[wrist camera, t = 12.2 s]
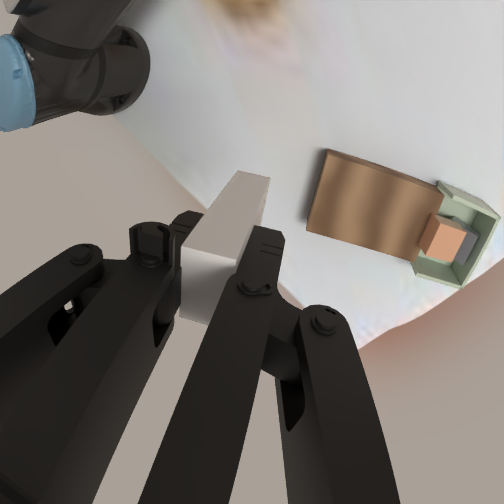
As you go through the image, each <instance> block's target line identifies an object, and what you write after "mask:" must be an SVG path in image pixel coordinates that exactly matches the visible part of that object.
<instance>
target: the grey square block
mask: <svg viewBox="0 0 504 504" xmlns="http://www.w3.org/2000/svg"><path fill="white" fill-rule="evenodd" d="M450 220H453V221H455V222H458V223H459V224H460V226H461V227H462V228H463V229H464V230H465V231H466V232H467V233H466V235H465V237H464V239H463V241H462V243H461V245H460V247H459V249H458V251H457V253H456V255H455V257H454V260H455V261H457V262H458V263H459V264H461V265H462V266H463V264H464V263H465V262H466V261H467V259H468V257H469V255H470V253H471V251H472V249H473V248H474V246H475V244H476V242H477V240H478V238H479V236H480V234H481V233H479V232H478V231H476V230H475V229H473V228H472V227H470V226H469V225H468V224H466V223H465V222H463V221H461V220H460V219H458V218H457V217H453V218H451V219H450Z"/></svg>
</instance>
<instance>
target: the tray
mask: <svg viewBox="0 0 504 504" xmlns="http://www.w3.org/2000/svg"><path fill="white" fill-rule="evenodd" d="M436 187H437V188H438V189H439V190H440V191H441V192H442V193H443V194H444V195H445V196H444V199H443V201H442V204H441V206H440V209H439V211H438V213H437V215H439V216H441V217H444V218H447V219H451V218H453V217H457V218H458V219H460V220H461V221H463V222H465V223H466V224H468V225H469V226H470V227H472V228H473V229H475V230H476V231H478V232H479V233H481V234H480V236H479V238H478V240H477V242H476V244H475V246H474V248H473V249H472V251H471V253H470V255H469V257H468V259H467V261H466V262H465V263H464V264H463V266H462V265H461V264H459V263H458V262H457V261H455V260H454V259H453V261H452V263H451V262H447V261H444V260H440V259H436V258H433V257H429V256H425V254H424V253H423V251H422V249H421V250H420V252H419V254H418V256H417V258H416V260H415V262H411V261H410V263H411V265H412V268H413V270H414V273H415V275H416V276H418V277H421V278H424V279H428V280H431V281H434V282H438V283H441V284H444V285H447V286H451V287H454V288H457V289H461V290H462V289H463V288H464V286H465V284H466V283H467V281H468V279H469V278H470V276H471V274H472V273H473V271H474V269H475V267H476V266H477V264H478V262H479V260H480V258H481V256H482V255H483V253H484V251H485V249H486V247H487V245H488V243H489V241H490V239H491V237H492V235H493V233H494V231H495V229H496V227H497V225H498V223H499V220H500V218H501V217H500V216H499V215H498V214H497V213H496V212H495V211H494V210H493V209H492V208H491V207H490V206H489V205H487V204H486V203H485V202H484V201H483V200H481V199H478V198H476V197H474V196H472V195H470V194H468V193H466V192H464V191H462V190H459V189H457V188H455V187H453V186H450V185H448V184H446V183H444V182H441V181H438V184H437V186H436Z"/></svg>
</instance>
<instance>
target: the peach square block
mask: <svg viewBox="0 0 504 504" xmlns="http://www.w3.org/2000/svg"><path fill="white" fill-rule="evenodd" d="M466 233H467V232H466V231H465V230H464V229H463V228H462V227H461V226H460V224H459V223H458V222H455V221H453V220H450V219H447V218H444V217H441V216H439V215H436V214H433V213H432V214H431V216H430V219H429V221H428V223H427V225H426V228H425V230H424V232H423V234H422V236H421V239H420V241H419V243H418V245H419V246H420V248H421V249H422V251H423V253H424V254H425V256H429V257H433V258H436V259H440V260H444V261H447V262H451V263H452V261H453V259H454V257H455V255H456V253H457V251H458V249H459V247H460V245H461V243H462V241H463V239H464V237H465V235H466Z"/></svg>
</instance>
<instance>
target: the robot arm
mask: <svg viewBox="0 0 504 504" xmlns="http://www.w3.org/2000/svg"><path fill="white" fill-rule="evenodd" d="M3 2H4V4H5V8H6V11H7V12H8V13H11V14H17V15H20V16H19V18H18V20H17V22H16V25H15V26H14V28H13V30H12V32H11V34H10V35H9V34H4V35H2V36H0V131H3V132H9V131H13V130H16V129H20V128H28V127H30V126H32V125H35V124H38V123H41V122H44V121H47V120H50V119H53V118H56V117H59V116H63V115H66V114H69V113H73V112H76V111H80V112H84V113H89V114H93V115H100V116H102V115H110V114H114V113H117V112H120V111H123V110H124V109H126V108H128V107H129V106H130V105H132V104H133V103H134V102H135V101H136V100H137V98H138V97H139V96H140V94H141V93H142V91H143V89H144V87H145V85H146V82H147V79H148V76H149V71H150V55H149V50H148V47H147V45H146V43H145V41H144V39H143V38H142V37H141V36H140V35H139V34H138V33H137V32H135V31H134V30H132V29H129V28H126V27H120V26H116V25H117V24H118V22H119V21H120V20H121V19H122V17H123V16H124V15H125V14H126V12H127V11H128V10H129V9H130V8H131V6H132V5H133V4H134V3H135V2H136V0H3ZM269 182H270V177H265V176H261V175H256V174H252V173H247V172H243V171H237V172H236V173H235V175H234V176H233V177H232V178H231V180H230V181H229V182H228V184H227V185H226V186H225V187H224V189H223V190H222V191H221V193H220V194H219V195H218V197H217V198H216V199H215V201H214V202H213V203H212V205H211V206H210V207H209V209H208V210H207V211H206V213H205V214H202V213H198V212H193V211H189V210H188V211H186V212H184V213H182V214H179V215H178V216H177V217H176V218H175V219H174V220H173V221H172V224H170V225H169V226H168V225H166V224H163V223H160V222H143V223H139V224H136V225H134V226H132V227H131V228H129V237H130V252H131V254H130V255H129V257H127V259H126V260H113V259H103V254H102V250H101V249H100V248H99V247H98V246H96V245H93V244H78V245H75V246H72V247H70V248H68V249H67V250H65V251H63V252H62V253H60V254H59V255H57V256H56V257H54V258H53V259H51V260H50V261H48V262H46V263H45V264H44V265H42V266H40V267H39V268H38V269H36V270H35V271H33V272H32V273H30V274H29V275H27V276H26V277H24V278H23V279H22V280H20V281H19V282H17V283H16V284H15V285H13V286H12V287H10V288H9V289H8V290H6V291H5V292H4V293H2V294H1V295H0V504H92V503H93V500H94V498H95V496H96V493H97V491H98V488H99V486H100V484H101V481H102V479H103V477H104V475H105V472H106V470H107V468H108V465H109V463H110V461H111V458H112V456H113V454H114V452H115V450H116V447H117V445H118V443H119V441H120V438H121V436H122V434H123V432H124V430H125V427H126V425H127V423H128V421H129V419H130V417H131V415H132V412H133V410H134V408H135V406H136V404H137V402H138V400H139V398H140V395H141V393H142V391H143V389H144V387H145V385H146V383H147V381H148V379H149V377H150V375H151V373H152V371H153V369H154V366H155V364H156V362H157V360H158V358H159V356H160V354H161V352H162V350H163V348H164V346H165V344H166V342H167V340H168V338H169V336H170V334H171V332H172V330H173V327H174V315H175V313H176V311H177V309H178V308H179V306H180V311H179V314H180V315H179V316H180V317H182V318H185V319H188V320H192V321H195V322H199V323H202V324H206V325H209V326H208V328H207V331H206V333H205V335H204V338H203V340H202V343H201V345H200V348H199V350H198V353H197V355H196V358H195V360H194V363H193V365H192V367H191V370H190V372H189V375H188V378H187V380H186V382H185V385H184V387H183V390H182V392H181V395H180V398H179V400H178V403H177V405H176V407H175V410H174V412H173V415H172V417H171V420H170V422H169V425H168V427H167V430H166V432H165V435H164V438H163V440H162V443H161V445H160V448H159V450H158V453H157V455H156V458H155V460H154V463H153V465H152V468H151V471H150V473H149V476H148V478H147V481H146V484H145V486H144V489H143V491H142V494H141V496H140V499H139V502H138V504H228V503H229V500H230V496H231V492H232V488H233V484H234V481H235V477H236V473H237V469H238V465H239V461H240V457H241V453H242V449H243V444H244V440H245V436H246V432H247V428H248V423H249V419H250V415H251V411H252V406H253V402H254V398H255V393H256V389H257V384H258V380H259V375H260V371H261V369H262V370H263V371H265V372H267V373H269V374H271V375H272V376H274V377H275V386H276V394H277V404H278V413H279V422H280V431H281V439H282V449H283V459H284V468H285V478H286V487H287V497H288V504H400V500H399V495H398V491H397V486H396V482H395V478H394V474H393V470H392V465H391V461H390V457H389V453H388V450H387V446H386V443H385V438H384V435H383V432H382V428H381V424H380V421H379V417H378V414H377V410H376V407H375V403H374V400H373V397H372V394H371V390H370V387H369V384H368V381H367V378H366V375H365V371H364V368H363V365H362V362H361V359H360V356H359V353H358V350H357V347H356V344H355V341H354V338H353V335H352V332H351V330H350V327H349V324H348V322H347V321H346V319H345V317H344V316H343V315H342V314H341V313H339V312H338V311H337V310H335V309H333V308H331V307H329V306H324V305H310V306H308V307H306V308H304V309H303V310H301V309H299V308H297V307H294V306H293V305H291V304H290V303H288V302H287V301H286V300H285V299H283V298H282V296H281V295H280V293H279V291H278V289H277V281H278V276H279V271H280V266H281V260H282V255H283V249H284V244H285V238H284V236H283V234H282V232H281V231H277V230H273V229H269V228H265V227H261V226H260V225H261V220H262V215H263V211H264V206H265V201H266V197H267V192H268V187H269ZM70 300H71V303H72V306H73V307H72V308H71V309H69V310H65V308H64V305H65V304H67V303H68V302H69V301H70Z"/></svg>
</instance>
